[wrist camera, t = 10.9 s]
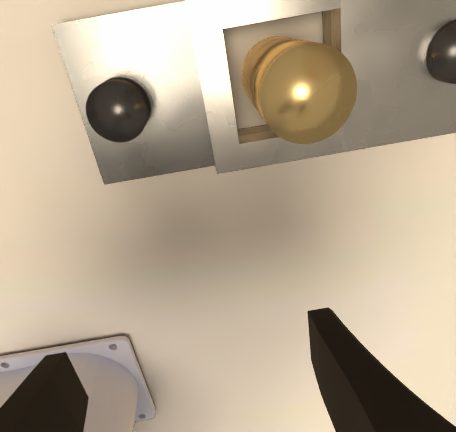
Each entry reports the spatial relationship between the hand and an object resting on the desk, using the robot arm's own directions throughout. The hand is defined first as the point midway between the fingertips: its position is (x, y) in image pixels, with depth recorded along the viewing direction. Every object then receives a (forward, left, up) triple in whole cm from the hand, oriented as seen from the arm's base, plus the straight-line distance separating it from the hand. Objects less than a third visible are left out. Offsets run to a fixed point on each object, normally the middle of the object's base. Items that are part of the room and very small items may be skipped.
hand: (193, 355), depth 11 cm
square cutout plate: (+5, +6, -10) cm, 13 cm away
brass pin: (+5, +6, -10) cm, 13 cm away
